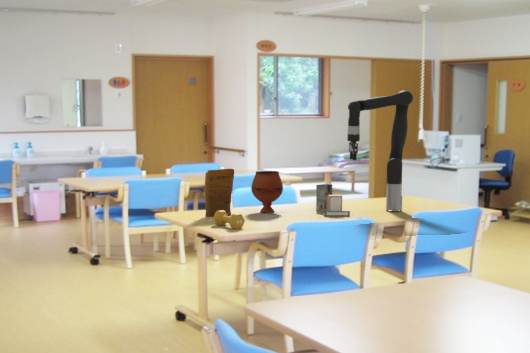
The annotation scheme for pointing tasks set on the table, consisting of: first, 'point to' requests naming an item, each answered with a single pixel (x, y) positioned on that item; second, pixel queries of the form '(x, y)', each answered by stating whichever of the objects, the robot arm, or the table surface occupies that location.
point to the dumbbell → (228, 219)
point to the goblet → (267, 188)
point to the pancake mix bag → (218, 191)
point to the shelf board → (336, 213)
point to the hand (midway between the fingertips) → (353, 159)
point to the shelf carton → (334, 203)
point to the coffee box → (322, 196)
